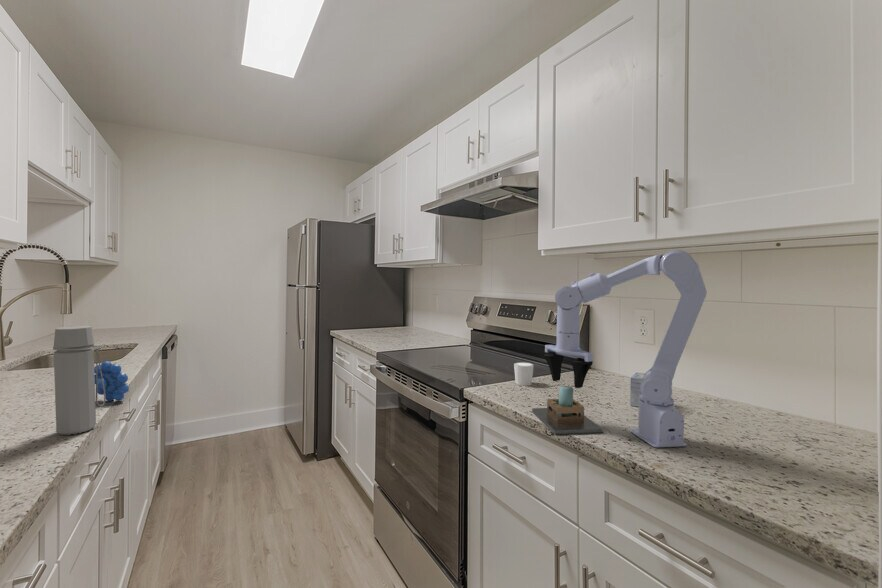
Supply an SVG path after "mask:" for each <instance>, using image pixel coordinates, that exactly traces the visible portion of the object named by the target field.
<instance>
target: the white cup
mask: <svg viewBox="0 0 882 588" xmlns="http://www.w3.org/2000/svg"><path fill="white" fill-rule="evenodd" d="M513 368H514V380H515V381H514V382H515V385H518V386H524V387H526V386H528V387H529V386H532V383H533V374H534V363H531V362H525V361H524V362H522V361H521V362H520V361H519V362H515V363H513Z"/></svg>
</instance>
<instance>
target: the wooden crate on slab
mask: <svg viewBox="0 0 882 588" xmlns="http://www.w3.org/2000/svg"><path fill="white" fill-rule="evenodd" d="M546 404H547V405H546V407H538V408H537V407H536V408H535V407H534V408H532V410H531V411H532V414H534V415H535V416H536V417H537V418H538V419H539V420H540V421H541V423H543V424H544V425H545V426H546V428H548V429H549V430H550V431H551V432H552V433H553V434H554V435H577V434H578V435H579V434H581V435H583V434H602V433H603V428H602V427H600V426H599V425H598V424H597V423H595V422H594V421H593V420H592V419H590V418H589V417H587V416H586V415H585V406H584V405H582V404H581V403H580V402H579V401H578V400H575V399H574V398H573V406H559V398H547V399H546ZM561 413H572V415H571V416H561Z"/></svg>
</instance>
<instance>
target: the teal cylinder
mask: <svg viewBox="0 0 882 588" xmlns="http://www.w3.org/2000/svg"><path fill="white" fill-rule="evenodd" d="M558 399H559V406H573V399H574V388H573V386H569V385H560V386H559V387H558ZM571 415H572V413H561V416H571Z"/></svg>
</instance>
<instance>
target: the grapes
mask: <svg viewBox="0 0 882 588" xmlns="http://www.w3.org/2000/svg"><path fill="white" fill-rule="evenodd" d="M100 366H101V371H102V377H103V382H104V387H105V393H106V399H105V401H107V402H112V400H113V401H114V400H115V401H118V402H119V401H122V400H123V399H124V398H125V394H127V393H128V392H129V391H130V386H129V385H128V384H127V382H128V380H129V377H128V375H127V374H126V373H125V372H122V366H121V365H120V364H117V363H112V362H110V361H109V360H108V361H107V360H104V361H102V362H100ZM94 372H95V385H96V365H94ZM97 379H98V395H100V396H102V395H103V396H104V390H103V384H102V378H101V373H100V367H99V364H97Z"/></svg>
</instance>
